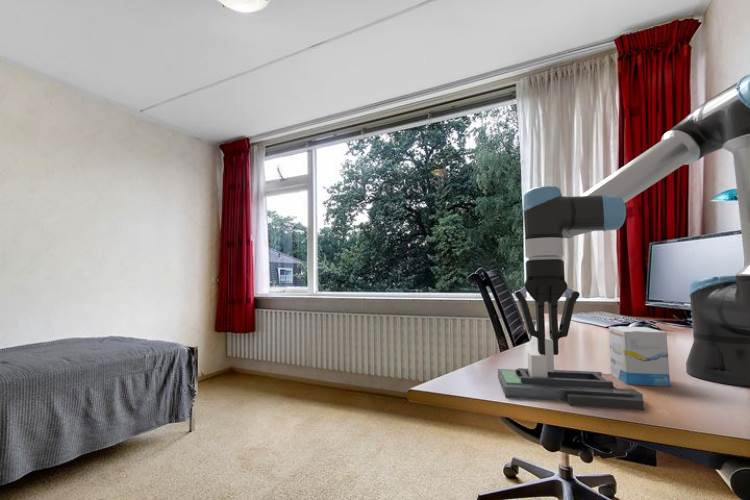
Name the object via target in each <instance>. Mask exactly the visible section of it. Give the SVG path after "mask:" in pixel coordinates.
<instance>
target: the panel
mask: <svg viewBox="0 0 750 500" xmlns="http://www.w3.org/2000/svg"><path fill="white" fill-rule="evenodd" d="M524 369H525V368H524ZM524 369H518V368H516V369H508V368H507V369H506V368H497V379H498V381H499V382H498V383H499V384H500V387H501V389H502V392H503V395H504V397H505V398H514V399H515V398H517V399H531V400H532V399H533V400H547V401H563V402H568V400H567V394H578V395H595V396H612V397H629V398H640V399H641V400H643V401H644V395H643V393H642V392H639V390H637V389H635V388H633V387H632V386H631V385H630V384H626V383H625V382H623V381H621V380H619V379H618V378H616V377H615V376H613V375H612V374H611V373H603V374H600V373H590V372H568V371H569V370H568V371H554V372H547V376H548V378H543V377H530V376H529V375H528V370H524Z"/></svg>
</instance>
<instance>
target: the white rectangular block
mask: <svg viewBox="0 0 750 500" xmlns="http://www.w3.org/2000/svg"><path fill="white" fill-rule="evenodd" d="M527 369H528V375H529V376H530V377H543V378H548V376H547V356H546V355H542V354H539V352H538V351H527Z"/></svg>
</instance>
